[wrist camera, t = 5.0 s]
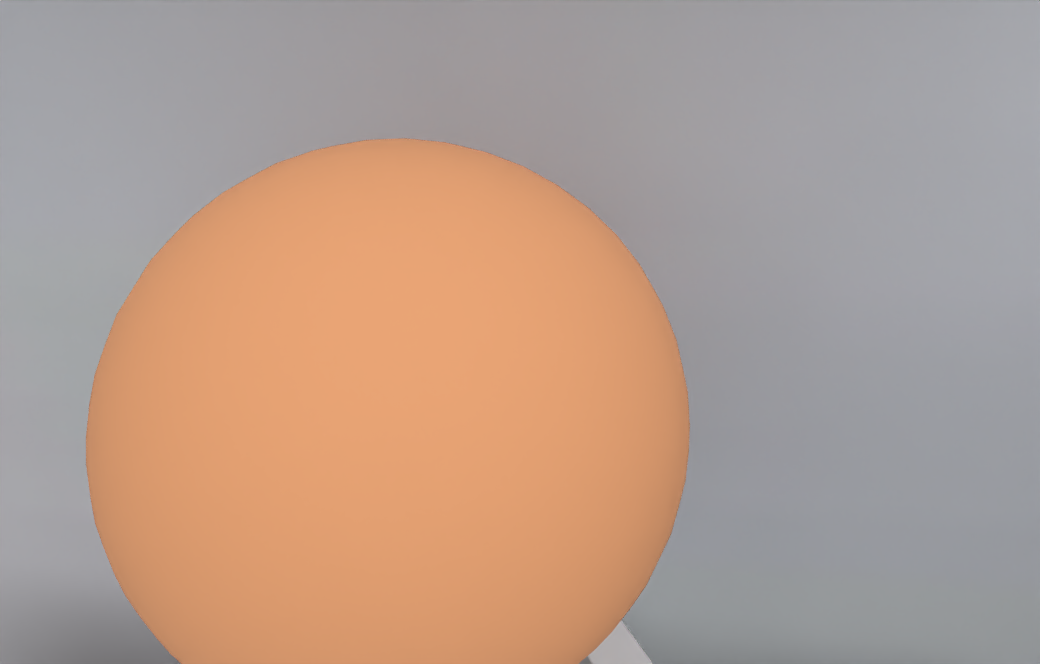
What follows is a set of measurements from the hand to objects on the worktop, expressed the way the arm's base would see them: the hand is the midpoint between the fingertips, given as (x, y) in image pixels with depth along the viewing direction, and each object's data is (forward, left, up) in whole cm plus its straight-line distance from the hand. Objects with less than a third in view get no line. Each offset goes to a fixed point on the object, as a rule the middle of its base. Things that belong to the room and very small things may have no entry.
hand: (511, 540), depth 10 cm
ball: (-2, -3, +2) cm, 5 cm away
